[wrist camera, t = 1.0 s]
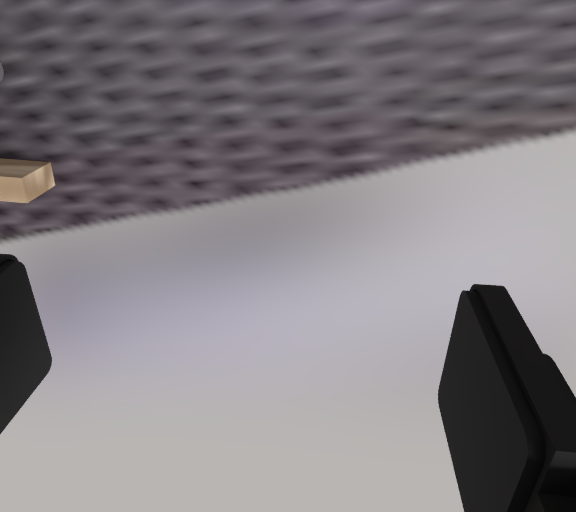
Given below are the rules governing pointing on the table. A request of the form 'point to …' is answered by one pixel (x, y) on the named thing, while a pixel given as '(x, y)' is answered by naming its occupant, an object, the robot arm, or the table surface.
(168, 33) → the table surface
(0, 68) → the pin
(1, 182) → the back wall
